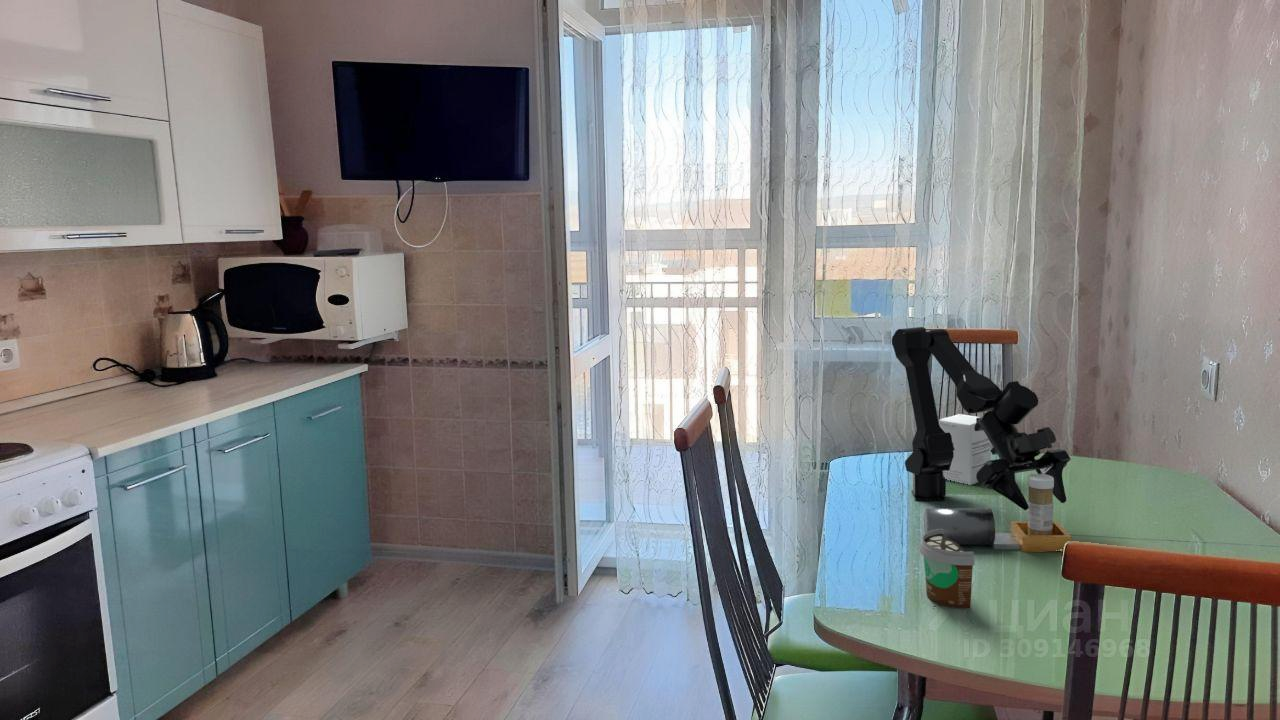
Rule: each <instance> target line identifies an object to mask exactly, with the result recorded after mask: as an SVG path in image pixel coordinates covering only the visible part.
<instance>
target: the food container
mask: <svg viewBox="0 0 1280 720" xmlns="http://www.w3.org/2000/svg"><path fill="white" fill-rule="evenodd" d="M918 551H919V553H920V554H921V555H922V556H923V563H924V564H923V566H924V568H923V569H924V578H925V587H926V588H925V589H926V591H925V592H926V597H927V598H928V600H929V601H931V602H932V603H934V604H936V605H939V606H943V607H946V608H953V609H961V610H962V609H965V610H966V609H971V605H972V604H971V602H972V601H971V600H972V587H973V586H972V585H973V584H972V583H973V566H975V556H974V551H965V550H964V549H963V548H962V547H961V546H960V544H957V543H956V542H954V541H952V540H950V539H948V538H947V537H946V536H945V535H944V533H943V529H937V530H933V531H929V532H927V533H925V532H924V533H923V536H922V538H921V540H920V543H919V547H918Z"/></svg>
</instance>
